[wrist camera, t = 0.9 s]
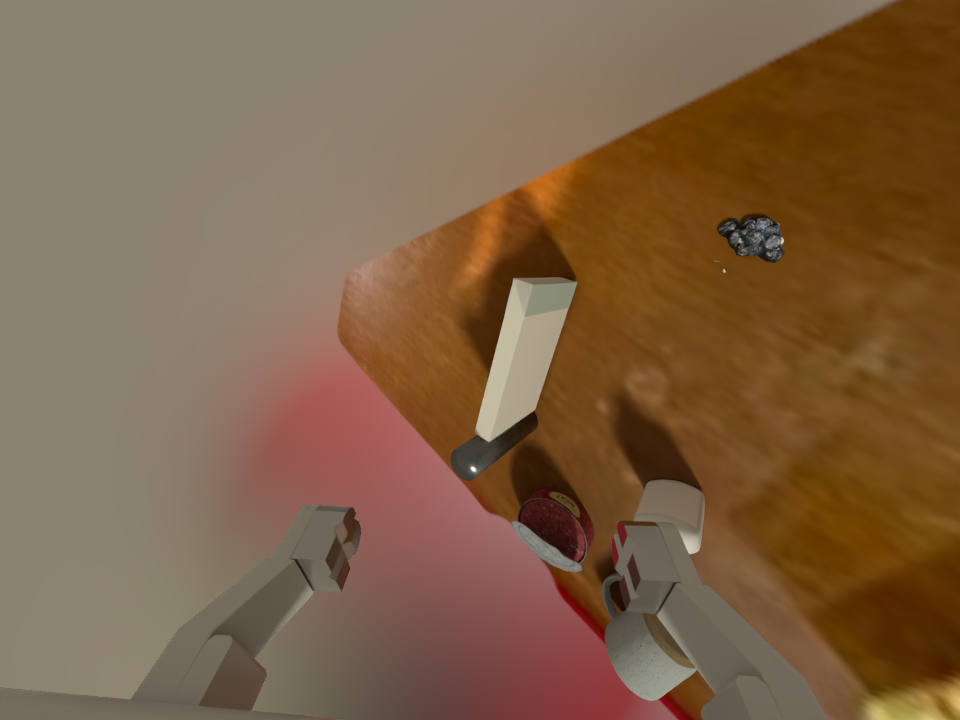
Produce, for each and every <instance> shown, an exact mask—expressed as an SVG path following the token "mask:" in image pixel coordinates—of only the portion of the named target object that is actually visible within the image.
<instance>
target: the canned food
mask: <svg viewBox="0 0 960 720" xmlns="http://www.w3.org/2000/svg"><path fill="white" fill-rule="evenodd" d="M512 525H513V529H514V530H515V532H516V533H517V535H518V537H519V538H520V539H521V540H522V541H523V542H524V543H525V545H526V546H527V547H528V548H529V549H530V550H532V551H533V552H534V553H535V554H536V555H537V556H538V557H539V558H540V559H542V560H543V561H545V562H547V563H549V564H551V565H553V566H555V567H558V568H560V569H563V570H565V571H572V572H578V571H582V567H581V565H580V563H581V562H583V560H584V558H585V557H586V554H587V552H588V550H589V548H590V546H591V544H592V542H593V538H594V529H593V524H592V521H591V519H590V517H589V515H588V513H587V511H586V510H585V509H584V507H583V506H582V505H581V504H580V503H579V502H578V501H577V500H576V499H575V498H573V497H572V496H571V495H569V494H567V493H565V492H563V491H561V490H558V489H554V488H542V489H539V490H537V491H536V492H534V493H533V494H532V495H531V496H530V498H529V499H528V500H527V501H526V502H525V503H524V504H523V505H522V506H521V508H520V510H519V514H518V521H515V520H514V521H513V522H512Z"/></svg>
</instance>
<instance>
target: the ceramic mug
mask: <svg viewBox="0 0 960 720" xmlns="http://www.w3.org/2000/svg"><path fill="white" fill-rule="evenodd" d="M621 579H622V576H621V575H620V574H619V573H618V572H617V573H614V574H612V575H610V576H609V577H607V578H606V579H605V580H604V582H603V584H602V597H603V602H604V605H605V607H606V610H607V612H608V614H609V616H610V618H611V621H610V622H609V624H608V626H607V627H606V632H605V642H606V648H607V652H608V655H609V658H610V660H611V663H612V665H613V667H614V669H615V671H616V672H617V674H618V676H619V677H620V678H621V680H622V681H623V682H624V683H625V685H626V686H627V687H628V688H629V689H630V690H631V691H632V692H634V693H635V694H636V695H638V696H639V697H641V698H643V699H646V700H650V701H651V700H652V701H654V700H657V699H659V698H661V697H662V696H663V695H665V694H666V693H667V692H669V691H670V690H671V689H673V688H674V687H676V686H677V685H678V684H679V683H681V682H682V681H683V680H685V679H686V678H688V677H689V676H691V675H692V674H693V673H694V672H695V671H696V670H697V669H696V667H695V666H694V665H693V663H692V662H691V661H690V659H689V658H688V657H687V656H686V654H685V653H684V652H683V650H682V649H681V648H680V646H679V645H678V644H677V642H676V641H675V640H674V638H673V637H672V636H671V634H670V633H669V632H668V630H667V629H666V628H665V626H664V625H663V624H662V622H661V621H660V620H659V618H658V617H657V615H658V614H649V613H639V612H628V611H626V610H624V611H623V612H621V613H620V614H619V613H618V612H617V610H616V608H615V606H614V603H613V601H612V598H611V594H610V586H611V584H612V583H613V582H615V581H621Z"/></svg>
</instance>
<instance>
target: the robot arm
mask: <svg viewBox="0 0 960 720" xmlns="http://www.w3.org/2000/svg"><path fill="white" fill-rule="evenodd" d="M355 514H356V513H355V510H354V508H353V507H337V506H322V505H304V506H303V507H302V508H301V509H300V510H299V511H298V513H297V515H296V516H295V518H294V520H293V522H292V524H291V525H290V527H289V529H288V531H287V532H286V534H285V536H284V538H283V539H282V541H281V543H280V545H279V546H278V548H277V550H276V552H275V553H274V555H273V557H272V558H266V559H265V560H264V561H263V562H262V563H260V564H259V565H258V566H257V567H255V568H254V569H253V570H252V571H251V572H249V573H248V574H247V575H245V576H244V577H243V578H242V579H240V580H239V581H238V582H237V583H235V584H234V585H233V586H232V587H230V588H229V589H228V590H227V591H225V592H224V593H223V594H222V595H220V596H219V597H218V598H217V599H215V600H214V601H213V602H212V603H211V604H209V605H208V606H207V607H206V608H204V609H203V610H202V611H201V612H199V613H198V614H197V615H196V616H194V617H193V618H192V619H191V620H189V621H188V622H187V623H186V624H185V625H183V626H182V627H181V628H179V629H178V631H177V632H176V633H175V635H174V636H173V638H172V639H171V641H170V642H169V644H168V645H167V647H166V648H165V650H164V651H163V653H162V654H161V656H160V657H159V659H158V660H157V661H156V663H155V665H154V666H153V667H152V669H151V670H150V672H149V673H148V675H147V676H146V678H145V679H144V681H143V682H142V684H141V685H140V687H139V688H138V690H137V691H136V692H135V694H134V696H133V697H132V698H131V699H119V698H109V697H98V696H87V695H75V694H65V693H55V692H44V691H33V690H23V689H12V688H1V687H0V720H346V719H335V718H325V717H313V716H303V715H292V714H281V713H270V712H260V711H251V710H252V708H253V706H254V703H255V701H256V699H257V696H258V694H259V692H260V690H261V687H262V685H263V683H264V681H265V678H266V676H267V674H266V670H265V669H264V668H263V667H262V666H261V665H260V664H259V663H258V662H257V661H256V660H255V659H254V658H255V657H256V656H257V655H258V654H259V653H260V651H261V650H262V649H263V648H264V647H265V646H266V645H267V644H268V643H269V642H270V641H271V640H272V638H273V637H274V636H275V635H276V634H277V633H278V632H279V631H280V630H281V628H282V627H283V626H284V625H285V624H286V623H287V622H288V621H289V620H290V619H291V618H292V616H293V615H294V614H295V613H296V612H297V611H298V610H299V609H300V608H301V607H302V605H303V604H304V603H305V602H306V601H307V600H308V599H309V598H310V596H311V595H312V594H313V593H314V592H313V591H327V592H342V589H343V586H344V583H345V580H346V578H347V575H348V573H349V570H350V567H349V562H348V560H349V559H350V558H351V557H352V556H353V555H354V554H355V553H356V551H357V548H358V545H359V541H360V535H361V528H360V524H359V522H358V521H357V520H356V519H354V517H355ZM616 528H617V531H618V533H617V534H615V535H613V539H612V549H611V551H612V558H613V563H614V567H615V569H616V570H617V572H618V573H619V574H620V575H621V576H622V579H621V582H620V584H619V587H620V591H621V594H622V598H623V602H624V606H625V610H626V611H628V612H639V613H649V614H658V615H657V617H658V618H659V620H660V621H661V622H662V624H663V625H664V626H665V628H666V629H667V630H668V632H669V633H670V634H671V636H672V637H673V638H674V640H675V641H676V642H677V644H678V645H679V646H680V648H681V649H682V650H683V652H684V653H685V654H686V656H687V657H688V658H689V659H690V661H691V662H692V663H693V665H694V666H695V667H696V669H697V670H698V671H699V673H700V674H701V675H702V677H703V678H704V679H705V681H706V682H707V683H708V685H709V686H710V687H711V689H712V690H713V691H714V693H715V694H716V696H714V697H713V698H712V699H711V700H710V701H709V702H708V703H706V704H705V705H704V706H703V708H702V710H701V712H700V713H701V716H702V719H703V720H828V719H827V717H826V715H825V713H824V711H823V710H822V708H821V706H820V704H819V703H818V701H817V699H816V697H815V695H814V694H813V692H812V690H811V688H810V686H809V685H808V683H807V681H806V679H805V678H804V677H803V676H802V675H801V674H800V673H799V672H798V671H797V670H796V669H795V668H794V667H792V666H791V665H790V664H789V663H788V662H787V661H786V660H785V659H784V658H783V657H782V656H781V655H780V654H779V653H778V652H777V651H776V650H775V649H774V648H773V647H772V646H771V645H770V644H769V643H768V642H767V641H766V640H765V639H764V638H763V637H761V636H760V635H759V634H758V633H757V632H756V631H755V630H754V629H753V628H752V627H751V626H750V625H749V624H748V623H747V622H746V621H745V620H744V619H743V618H742V617H741V616H740V615H739V614H738V613H737V612H736V611H735V610H734V609H733V608H731V607H730V606H729V605H728V604H727V603H726V602H725V601H724V600H723V599H722V598H721V597H720V596H719V595H718V594H717V593H716V592H715V591H714V590H713V589H712V588H711V587H710V586H709V585H703V584H702V582H701V580H700V577H699V575H698V573H697V571H696V569H695V566H694V564H693V562H692V560H691V557H690V555H689V553H688V551H687V548H686V546H685V544H684V542H683V540H682V537H681V535H680V533H679V531H678V528H677V527H676V526H675V525H674V524H673V523H666V522H650V521H619V522H618V524H617V527H616Z"/></svg>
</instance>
